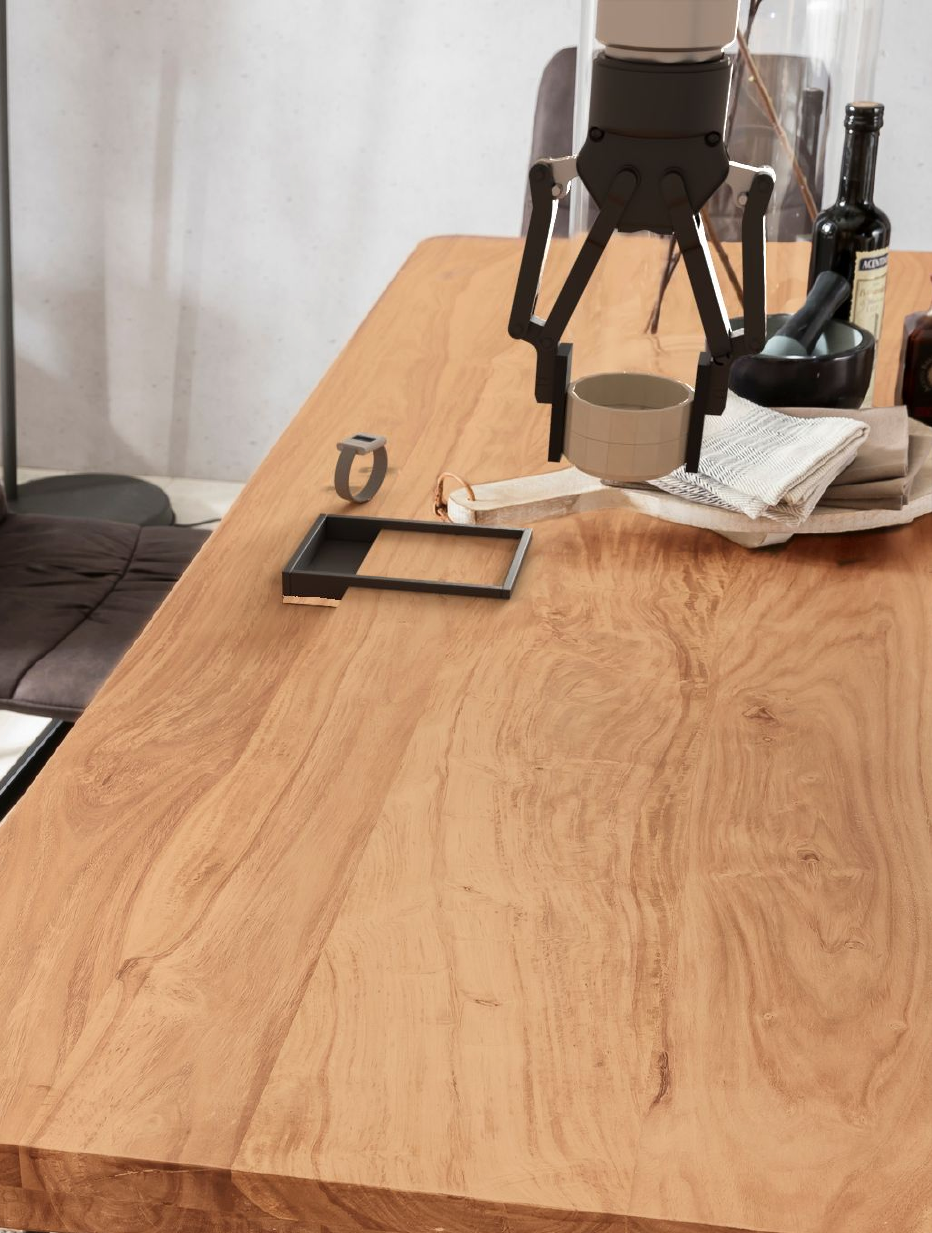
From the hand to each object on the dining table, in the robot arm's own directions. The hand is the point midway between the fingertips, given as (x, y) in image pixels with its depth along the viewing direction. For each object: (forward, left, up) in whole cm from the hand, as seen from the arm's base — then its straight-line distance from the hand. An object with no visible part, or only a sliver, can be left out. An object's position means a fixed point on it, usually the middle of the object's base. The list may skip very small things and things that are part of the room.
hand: (624, 459), depth 106 cm
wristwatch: (+22, -27, -14) cm, 37 cm away
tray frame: (+15, -11, -14) cm, 23 cm away
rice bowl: (0, 0, 0) cm, 0 cm away
